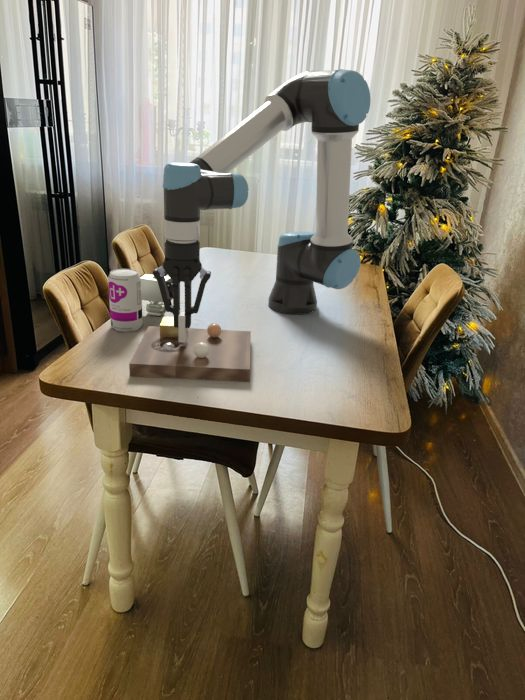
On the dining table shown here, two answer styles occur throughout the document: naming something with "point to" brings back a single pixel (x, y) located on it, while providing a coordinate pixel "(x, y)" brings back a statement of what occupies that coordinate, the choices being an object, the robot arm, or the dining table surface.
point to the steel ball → (168, 345)
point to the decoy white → (201, 350)
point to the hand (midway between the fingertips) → (182, 339)
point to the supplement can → (125, 300)
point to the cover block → (168, 328)
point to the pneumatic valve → (154, 294)
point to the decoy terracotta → (214, 330)
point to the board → (193, 356)
